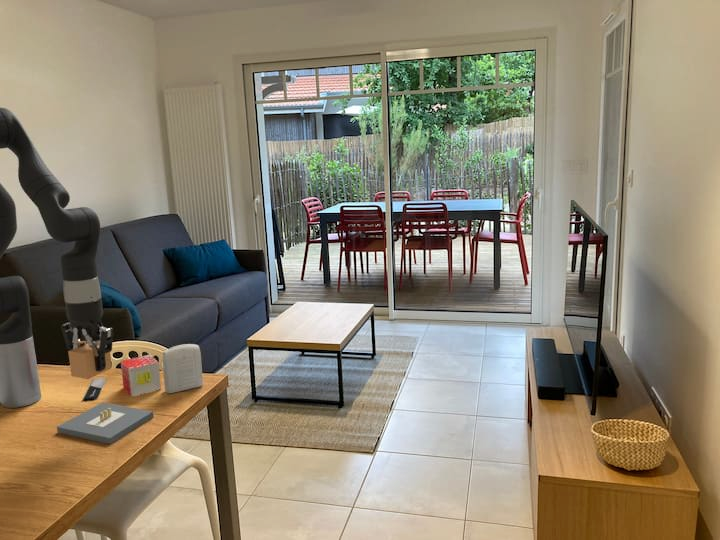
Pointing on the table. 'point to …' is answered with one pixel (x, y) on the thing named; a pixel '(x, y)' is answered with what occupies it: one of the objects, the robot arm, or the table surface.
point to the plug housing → (86, 362)
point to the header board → (105, 422)
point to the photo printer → (182, 368)
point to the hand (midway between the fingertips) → (91, 368)
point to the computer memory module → (94, 389)
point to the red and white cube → (140, 375)
